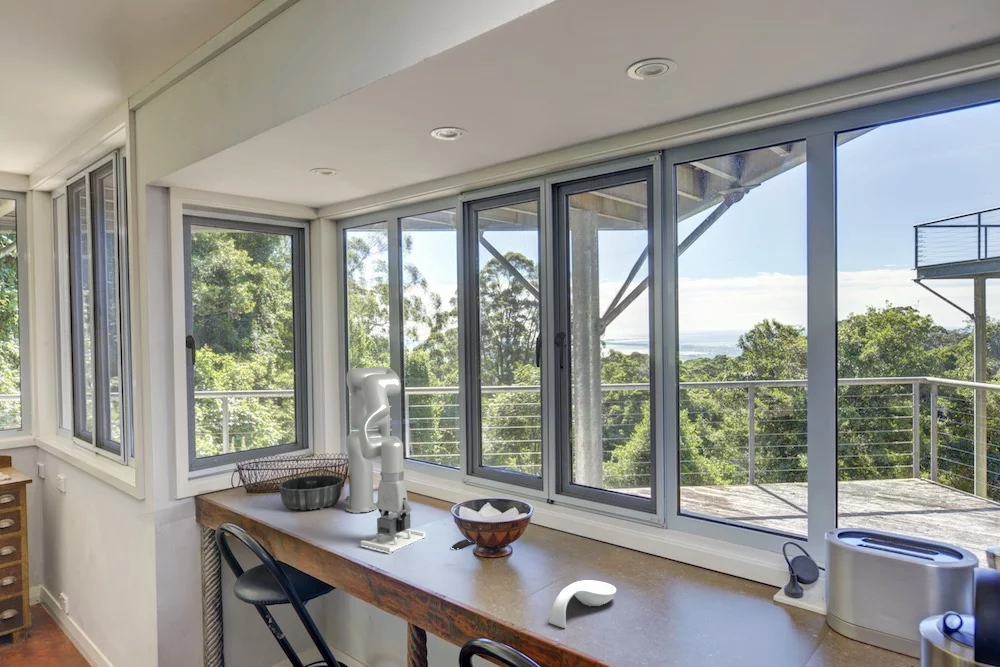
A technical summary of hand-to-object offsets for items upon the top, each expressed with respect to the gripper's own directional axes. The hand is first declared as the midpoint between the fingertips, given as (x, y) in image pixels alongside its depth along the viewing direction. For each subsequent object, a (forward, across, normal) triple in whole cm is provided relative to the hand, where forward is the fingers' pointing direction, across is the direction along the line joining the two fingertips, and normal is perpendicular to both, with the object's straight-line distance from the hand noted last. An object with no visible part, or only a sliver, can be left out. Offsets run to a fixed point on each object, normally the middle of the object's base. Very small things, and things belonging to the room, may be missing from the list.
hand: (393, 528), depth 211 cm
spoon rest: (+6, +77, -13) cm, 78 cm away
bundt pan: (+5, -62, +17) cm, 64 cm away
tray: (+5, 0, 0) cm, 5 cm away
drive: (+1, 0, 0) cm, 1 cm away
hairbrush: (+6, +26, +16) cm, 31 cm away
